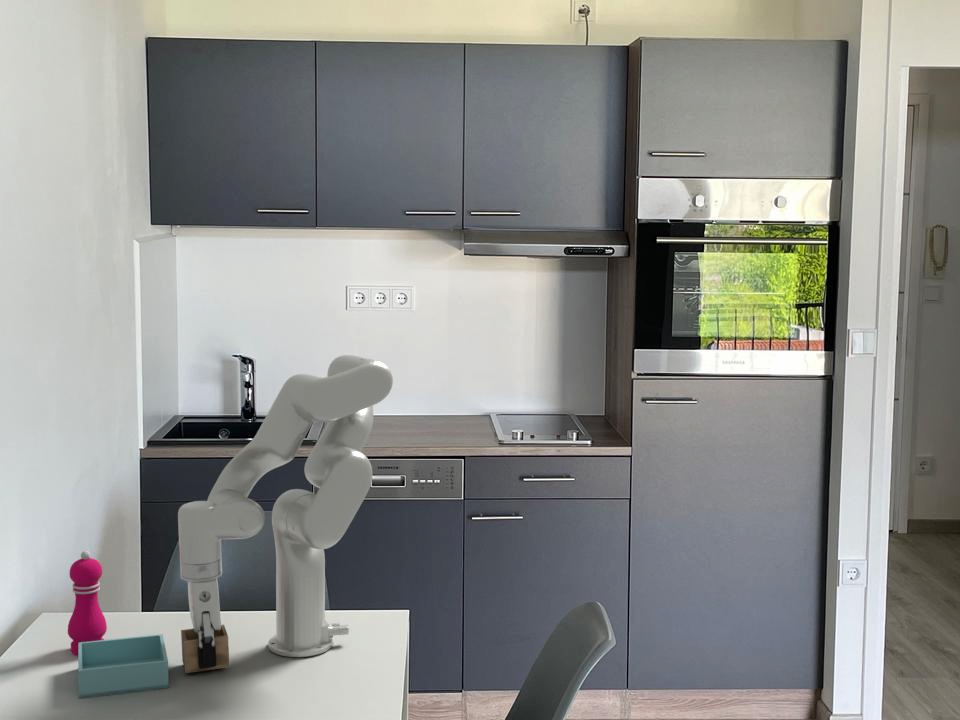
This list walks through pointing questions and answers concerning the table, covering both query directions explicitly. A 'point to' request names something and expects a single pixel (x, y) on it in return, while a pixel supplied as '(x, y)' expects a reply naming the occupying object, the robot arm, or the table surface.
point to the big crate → (122, 665)
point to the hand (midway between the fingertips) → (205, 659)
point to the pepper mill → (86, 602)
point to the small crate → (192, 644)
